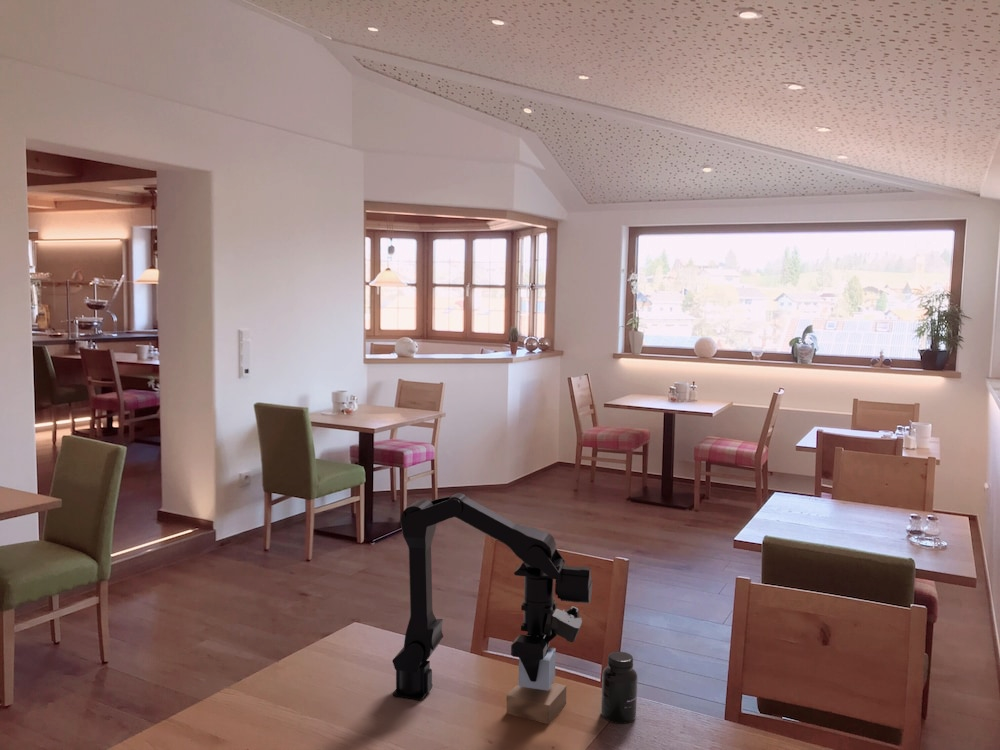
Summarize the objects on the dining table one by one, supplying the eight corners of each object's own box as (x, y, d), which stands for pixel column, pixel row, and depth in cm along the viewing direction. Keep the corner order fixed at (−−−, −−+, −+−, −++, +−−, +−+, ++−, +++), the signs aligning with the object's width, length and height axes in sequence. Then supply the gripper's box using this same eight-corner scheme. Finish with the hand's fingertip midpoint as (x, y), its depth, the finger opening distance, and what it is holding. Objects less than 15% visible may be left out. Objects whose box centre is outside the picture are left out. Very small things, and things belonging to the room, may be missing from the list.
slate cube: (518, 686, 156) (519, 656, 156) (526, 672, 162) (526, 644, 162) (548, 690, 155) (549, 660, 154) (555, 676, 161) (555, 648, 160)
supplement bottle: (635, 726, 153) (637, 665, 151) (599, 722, 154) (601, 662, 153) (636, 708, 159) (638, 650, 158) (602, 704, 161) (603, 647, 160)
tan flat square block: (506, 714, 157) (506, 695, 157) (525, 694, 165) (525, 676, 165) (548, 725, 153) (549, 705, 153) (566, 704, 161) (566, 685, 161)
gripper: (569, 620, 146) (568, 702, 147) (587, 586, 164) (585, 659, 165) (511, 613, 149) (509, 693, 150) (534, 580, 167) (533, 652, 168)
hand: (537, 674), depth 158 cm, fingers closed on slate cube, 6 cm apart
